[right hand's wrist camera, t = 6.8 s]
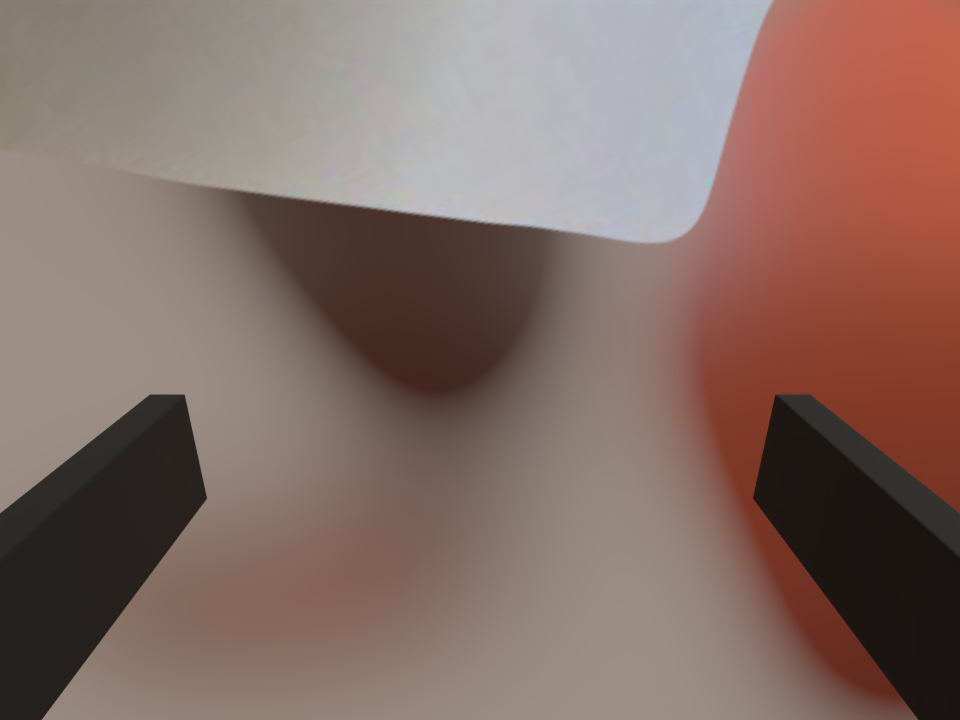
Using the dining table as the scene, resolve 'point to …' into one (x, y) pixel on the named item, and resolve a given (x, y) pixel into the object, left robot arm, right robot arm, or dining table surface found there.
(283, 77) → the dining table surface
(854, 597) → the right robot arm
